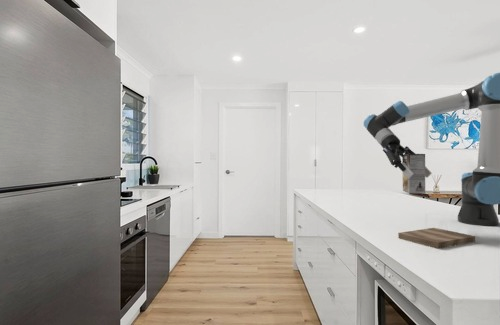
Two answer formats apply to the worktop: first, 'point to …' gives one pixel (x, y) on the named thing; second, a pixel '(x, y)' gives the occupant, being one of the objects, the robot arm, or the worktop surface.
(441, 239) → the walnut board
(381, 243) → the worktop surface
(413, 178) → the coffee box
